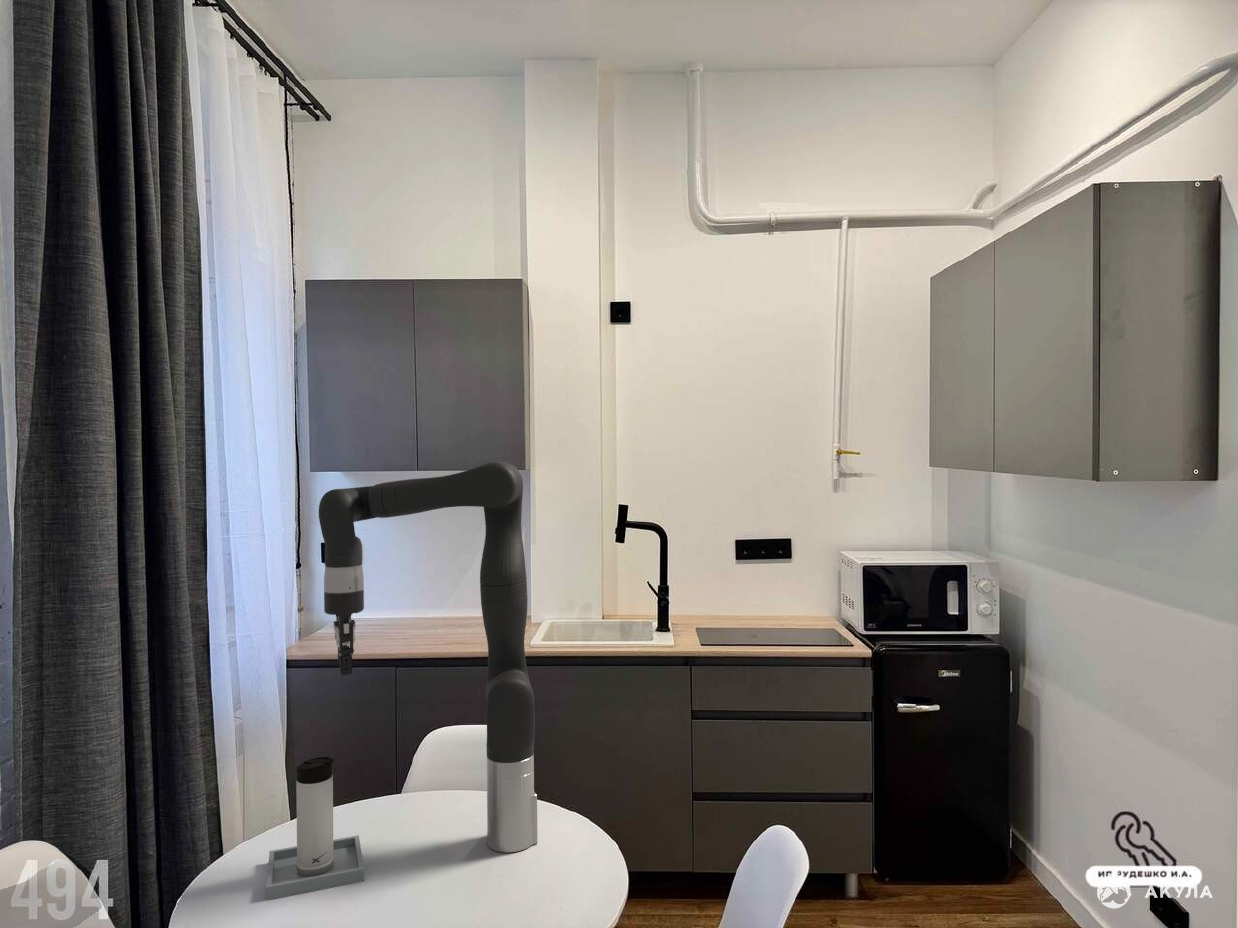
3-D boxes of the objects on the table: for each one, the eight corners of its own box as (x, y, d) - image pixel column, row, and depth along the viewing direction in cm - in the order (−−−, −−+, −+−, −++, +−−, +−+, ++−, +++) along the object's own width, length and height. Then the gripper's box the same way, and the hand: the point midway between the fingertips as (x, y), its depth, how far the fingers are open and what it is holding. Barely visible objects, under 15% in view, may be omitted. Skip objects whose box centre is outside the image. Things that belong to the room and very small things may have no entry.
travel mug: (323, 878, 140) (321, 766, 140) (289, 875, 142) (288, 764, 142) (341, 861, 146) (340, 754, 147) (310, 858, 148) (309, 752, 148)
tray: (358, 846, 153) (358, 835, 153) (364, 880, 140) (363, 868, 140) (269, 862, 147) (269, 850, 147) (266, 900, 134) (266, 887, 134)
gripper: (366, 592, 151) (367, 675, 151) (360, 582, 164) (361, 659, 164) (325, 594, 148) (326, 680, 148) (322, 584, 162) (323, 663, 161)
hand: (344, 669), depth 156 cm, fingers open, 8 cm apart
